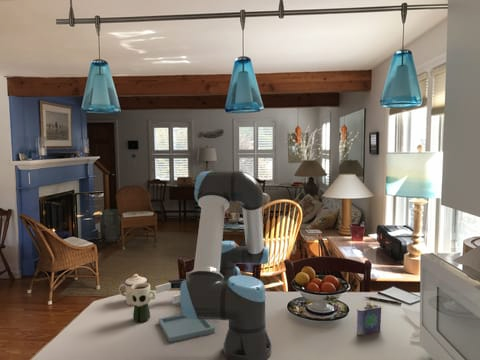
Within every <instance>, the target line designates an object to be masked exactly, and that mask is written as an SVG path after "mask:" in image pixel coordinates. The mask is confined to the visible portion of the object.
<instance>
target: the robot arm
mask: <svg viewBox="0 0 480 360" xmlns="http://www.w3.org/2000/svg"><path fill="white" fill-rule="evenodd" d="M194 183H195V184H194V199H195V201H196V202H197V205H198V207H200V208H201V209H200V217H199V224H198V225H199V226H198V234H197V240H196V249H195V257H194V264H193V269H192V270H191V271H190V272H189V273H188V275H187V278H179V279H170V280H169V279H168V282H167V283H163V284H159V285H155V294H159V293H163V292H166V291H171V290H172V289H180V290H179V294H175V295H173V296H172V304H177V303H180V307H181V311H182V314H184V316H185V317H186V318H190V319H197V320H199V319H207V320H208V321H210V320H212V321H213V320H214V321H217V320H218V321H228V330H227V332H226V336H225V339H224V342H223V355H224V357H225V358H226V359H228V360H267V359H268V358H270V357H271V355H272V342H271V339H270V336H269V333H268V330H267V326H266V324H267V323H266V322H267V321H266V320H267V319H266V300H267V296H266V287H265V284H264V283H263V281H261V280H260V279H258V278H256V277H254V276H250V275H244V274H242V273H241V270H240V268H239V266H236V264H239V265H240V264H241V265H266V264H268V263H269V258H270V257H269V252H270V251H269V247H268V246H264V229H263V228H264V226H263V210H262V209H263V207H264V204H265V195H264V192H263V189H262V187H261V185H260V184H259V182H258V181H257V179H256V178H254V177H253V176H252V174H249V173H248V172H245V171H242V170H228V171H227V170H223V171H221V170H220V171H214V170H209V171H208V170H207V171H205V170H204V171H201V172H200V173H199V174H198V175H197V177H196V179H195V182H194ZM231 203H239V206H240V208H241V209H242V217H243V218H242V219H243V229H244V239H245V241H244V242H245V246H244V245H241V246H240V245H236V243H235V241H233V240H223V238H224V237H223V235H224V227H225V226H224V225H225V216H226V215H225V213H226V211H227V210H228V209H230V205H231Z"/></svg>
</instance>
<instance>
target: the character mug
mask: <svg viewBox="0 0 480 360" xmlns="http://www.w3.org/2000/svg"><path fill="white" fill-rule="evenodd" d="M129 293H131V296H129ZM151 294H152V296H151ZM127 299H131V302H132V303H133V304H134V305H133V306H134V307H133V317H132V320H133V321H134V322H140V323H141V322H146V321H148V320H149V319H150V318H151V311H150V307H149V303H151V300H155V299H156V290H151V284H150V283H148V282H147V283H138V284H134V285H132V286H131V290H128V291H127Z"/></svg>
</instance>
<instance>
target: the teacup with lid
mask: <svg viewBox="0 0 480 360" xmlns="http://www.w3.org/2000/svg"><path fill="white" fill-rule="evenodd" d="M138 283H148V280H147V278H146V277H143V276H140V275H139V274H138V273H135V274H133V275H132V276H131V277H129V278H127V279H125V282H124V283H123V284H120V285H119V287H118V292H119V294H120V295H121V296H122V297H125V302H126V304H127V305H129V306H135V305H134V304H133V303H132V302H131V299H127V291H128V290H131V286H132V285H134V284H138ZM122 287H125V293H124V292H123V291H122ZM129 296H131V293H129Z"/></svg>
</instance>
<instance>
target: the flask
mask: <svg viewBox="0 0 480 360" xmlns="http://www.w3.org/2000/svg"><path fill="white" fill-rule="evenodd" d="M356 313H357V315H356V316H357V319H356V323H357V324H356V325H357V326H356V334H357V335H358V336H366V335H372V334H375V333H376V334H378V333H380V332H381V321H382V306H380V305H378V304H371V302H370V301H366V305H365V306H362V307H359V308H357V312H356Z"/></svg>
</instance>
